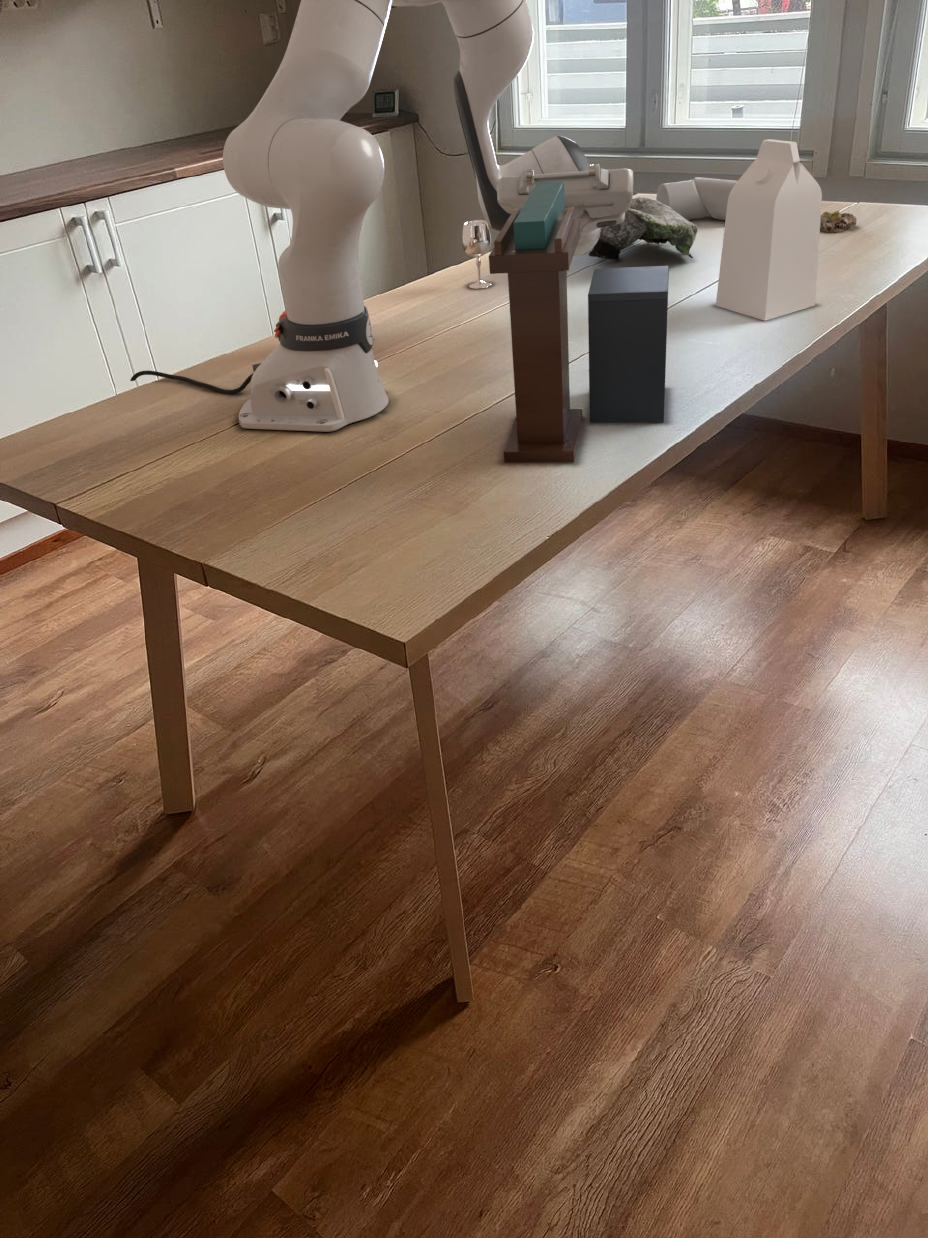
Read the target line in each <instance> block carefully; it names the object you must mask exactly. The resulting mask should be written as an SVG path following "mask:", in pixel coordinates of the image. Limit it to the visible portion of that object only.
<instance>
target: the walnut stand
mask: <svg viewBox="0 0 928 1238" xmlns="http://www.w3.org/2000/svg"><path fill="white" fill-rule="evenodd" d="M519 213H520V210H514V211H513V212H512V214H511V215H510V217H509V219H508V220H507V222H506V223H505V225H504V227H503V228H502V230H501V231H499V233H498V235H496V238H495V240H494V241H493V248H492V250H491V251H490V253H489V255H488V267H489V268H488V269H489V274H490V275H497V274H498V275H499V274H507V282H508V300H509V301H508V302H509V315H510V316H509V318H510V335H511V351H512V368H513V386H514V387H513V388H514V404H515V418H514V421H513V424H512V427H511V430H510V432H509V436H508V439H507V441H506V444H505V446H504V451H503V462H504V463H575V459H576V455H577V449H578V445H579V440H580V435H581V430H582V424H583V420H584V409H583V408H571V395H570V394H571V393H570V392H571V391H570V389H571V388H570V353H569V352H570V351H569V350H570V349H569V318H568V317H569V315H568V314H569V312H568V310H569V309H568V278H567V277H568V276H567V275H568V274H567V272H569V270H570V267H571V265H572V261H573V259H574V257H575V256H574V253H575V250H576V247H577V244H578V241H579V238H580V219H579V220H574V207H568V209H567V211H566V213H565V216H564V218H563V220H560V221H557V224H556V226H555V228H554V230H553V233H552V235H551V237H550V239H549V242H548V244H547V246H546V249H529V250H515V238H514V221H515V220H516V218H517V216H518V215H519Z"/></svg>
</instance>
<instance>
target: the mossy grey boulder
mask: <svg viewBox="0 0 928 1238" xmlns="http://www.w3.org/2000/svg"><path fill="white" fill-rule="evenodd" d="M697 233H698V227H697V225H696V224H695V223H693V222H691V221H690V220H686V219H685V218H684V217H682V216H681V215H679V214H678V213H677V212H675V211H674V210H672V209H671V207H669V206H666V205H664V204H662V203H660V202H659V201H657V200H656V199H653V198H650V197H643V196H639V197H635V198H632V203H631V206H630V208H629V210H628V211H627V212H625V218H624V222H623V223H620V224H615V225H611V226H606V227H602V228H601V232H600V237H599V240H598V242H597V243H596V245H595V246H594V247H593V248H592V249H591V250H590V251H589V252H588V256H589V257H594V258H598V259H601V260H602V259H603V260H610V261H614V260H615V261H618V260H619V258H620V256H619V255H620V253H621V252H622V251H623V250H624V249H626V248H628V247H630V246H632V245H633V244H634V243H636V242H637V241H638V240H639V241H644V242H645V243H647V244H656V245H660V244H665V245H666V244H667V243H669V244H670V245H671V246H672V247H675V249H676V251H678V252H679V253H681V255H685V256H688V257H687V258H690V259H694V256H692V253H690V252H691V251H690V250H691V248H692V247H693V245H694V242H695V241H696V239H697V238H696V237H697V235H698V234H697Z"/></svg>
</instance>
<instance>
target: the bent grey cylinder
mask: <svg viewBox="0 0 928 1238" xmlns="http://www.w3.org/2000/svg"><path fill="white" fill-rule="evenodd" d="M737 181H738V180H734V179H724V178H723V179H722V178H713V177H699V176H695V177H694V178H693V179H690V180H688V179H687V180H681V181H675V182H667V183H661V184H660V185H659V186H658V188H657V191H656V199H655V200H657V201H659V202H660V203H662V204H664V205H666V206H669V207H671V209H672V210H674V211H675V212H677V213H678V214H679V215H681V216H682V217H684V218H685V219H686V220H688V221H690V220H695V219H696V220H697V219H704V218H711V217H712V218H713V219H714V220H720V221H725V220H726V212H727V203H728V197H729V194H730V192H731V190H732V188H733V187H734V185H735V184H736V183H737Z"/></svg>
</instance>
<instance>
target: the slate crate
mask: <svg viewBox="0 0 928 1238" xmlns="http://www.w3.org/2000/svg"><path fill="white" fill-rule="evenodd" d="M669 273H670V266H669V265H656V266H652V265H651V266H631V267H630V266H629V267H628V266H627V267H604V268H594V270H593V274H592V277H591V278H592V279H591V282H590V286H589V289H588V293H587V313H588V314H587V321H588V322H587V327H588V330H587V331H588V382H589V383H588V396H589V399H588V401H589V406H588V407H589V424H617V423H618V424H619V423H620V424H621V423H624V424H625V423H628V424H629V423H631V424H632V423H633V424H634V423H635V424H636V423H664V422H665V399H666V398H665V397H666V371H667V369H666V367H667V342H668V341H667V338H668V310H669V309H668V308H669V276H670V274H669Z"/></svg>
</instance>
